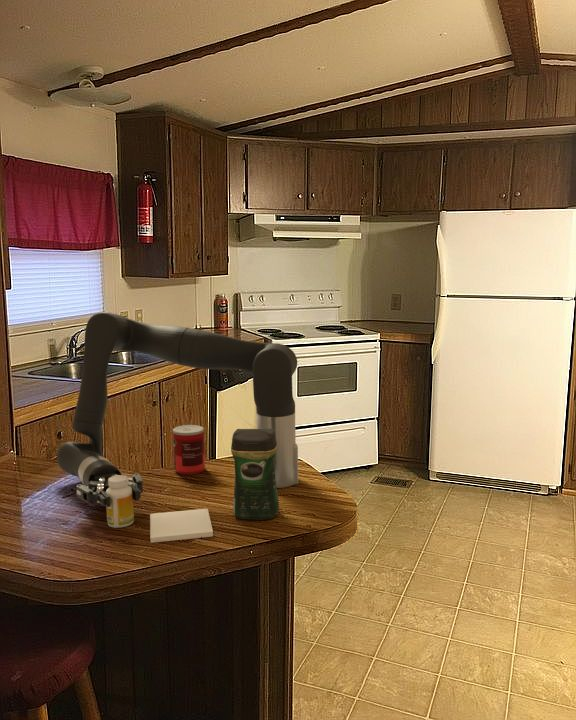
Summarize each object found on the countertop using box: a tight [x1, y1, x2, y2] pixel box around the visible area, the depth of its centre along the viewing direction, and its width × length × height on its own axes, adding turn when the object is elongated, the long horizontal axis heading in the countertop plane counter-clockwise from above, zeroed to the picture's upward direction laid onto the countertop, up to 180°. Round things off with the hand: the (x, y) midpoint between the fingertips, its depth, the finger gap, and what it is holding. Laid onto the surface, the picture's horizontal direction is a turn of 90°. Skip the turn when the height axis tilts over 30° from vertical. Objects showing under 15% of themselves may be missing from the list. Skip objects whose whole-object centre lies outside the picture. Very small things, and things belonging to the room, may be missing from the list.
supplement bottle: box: [105, 474, 135, 529], centre depth 136 cm, size 5×5×10 cm
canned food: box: [172, 424, 206, 475], centre depth 168 cm, size 8×8×11 cm
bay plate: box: [149, 508, 214, 543], centre depth 134 cm, size 12×12×1 cm
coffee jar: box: [230, 428, 280, 520], centre depth 138 cm, size 10×8×19 cm
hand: (123, 499), depth 133 cm, fingers closed on supplement bottle, 5 cm apart
